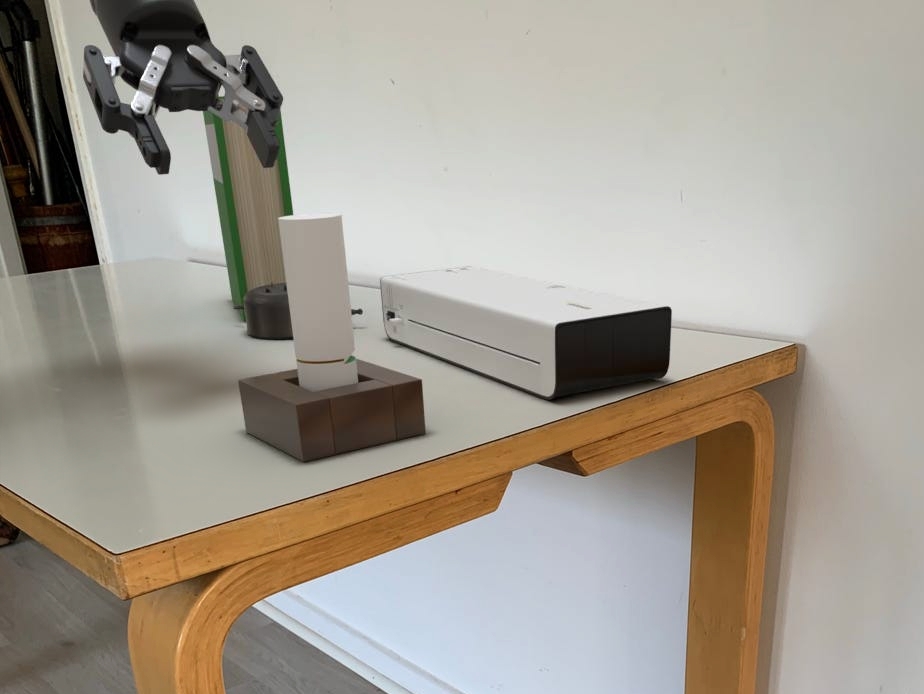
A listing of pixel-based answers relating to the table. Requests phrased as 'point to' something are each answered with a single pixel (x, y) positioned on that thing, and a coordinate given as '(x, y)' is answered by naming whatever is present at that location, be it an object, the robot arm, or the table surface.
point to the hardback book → (248, 205)
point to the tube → (319, 299)
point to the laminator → (527, 329)
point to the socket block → (332, 411)
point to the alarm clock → (270, 312)
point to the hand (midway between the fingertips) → (220, 162)
